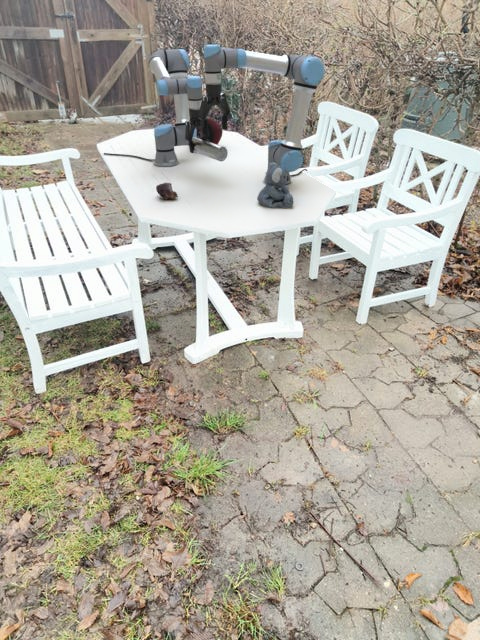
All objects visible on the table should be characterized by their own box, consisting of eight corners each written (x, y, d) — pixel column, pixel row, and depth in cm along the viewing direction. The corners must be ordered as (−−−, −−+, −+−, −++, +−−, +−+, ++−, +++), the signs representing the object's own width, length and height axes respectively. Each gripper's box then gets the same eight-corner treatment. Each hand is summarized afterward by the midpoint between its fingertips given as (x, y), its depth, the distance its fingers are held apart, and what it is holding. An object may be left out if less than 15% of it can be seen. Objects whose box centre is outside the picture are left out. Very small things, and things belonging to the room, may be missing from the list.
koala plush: (294, 208, 225) (297, 169, 214) (259, 209, 224) (259, 170, 213) (288, 196, 240) (290, 159, 229) (255, 198, 239) (255, 160, 227)
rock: (172, 196, 246) (154, 198, 242) (170, 179, 242) (152, 182, 238) (179, 199, 236) (161, 201, 232) (177, 182, 233) (159, 184, 229)
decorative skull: (188, 123, 330) (185, 120, 306) (219, 116, 329) (218, 112, 306) (194, 153, 337) (192, 152, 313) (225, 146, 336) (225, 145, 313)
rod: (188, 152, 260) (187, 138, 256) (199, 149, 264) (199, 136, 260) (216, 162, 243) (215, 148, 238) (227, 160, 247) (227, 145, 242)
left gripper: (183, 111, 239) (186, 155, 252) (214, 107, 249) (216, 149, 262) (176, 109, 244) (179, 153, 257) (207, 105, 254) (208, 147, 267)
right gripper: (199, 86, 200) (202, 137, 212) (237, 81, 215) (237, 128, 227) (188, 85, 204) (191, 134, 216) (226, 80, 219) (227, 126, 231)
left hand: (198, 151), depth 260 cm, fingers closed on rod, 8 cm apart
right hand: (215, 131), depth 222 cm, fingers open, 13 cm apart
